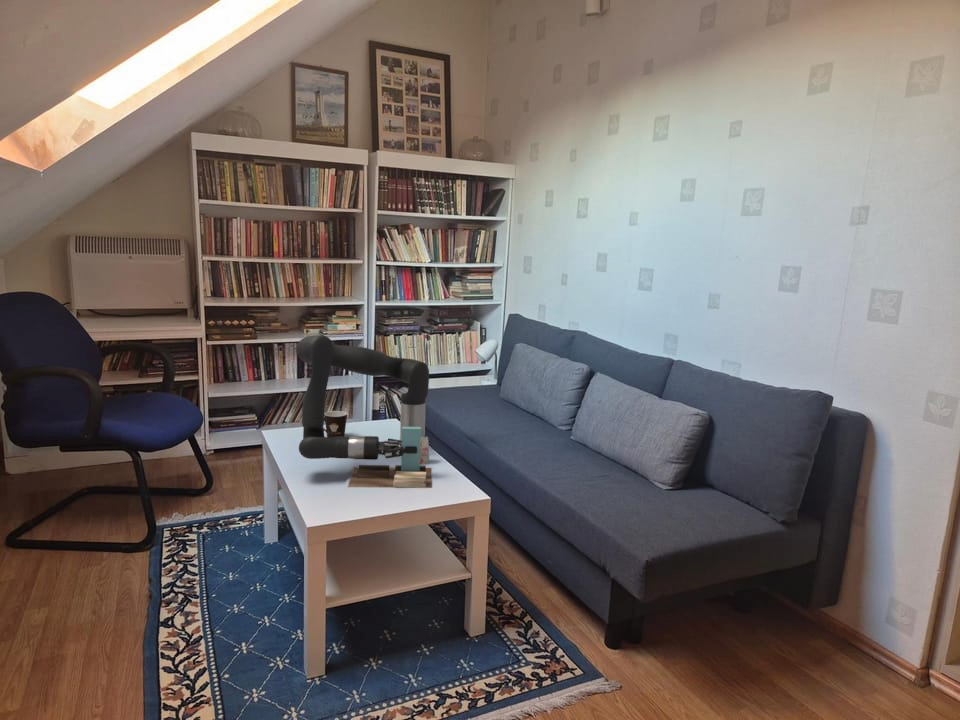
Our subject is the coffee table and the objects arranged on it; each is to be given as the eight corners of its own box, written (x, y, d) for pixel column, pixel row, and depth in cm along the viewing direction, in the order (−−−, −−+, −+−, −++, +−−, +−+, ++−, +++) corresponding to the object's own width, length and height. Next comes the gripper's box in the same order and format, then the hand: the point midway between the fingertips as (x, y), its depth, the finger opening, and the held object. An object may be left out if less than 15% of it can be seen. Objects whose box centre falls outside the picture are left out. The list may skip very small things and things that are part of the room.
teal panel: (401, 473, 208) (402, 426, 205) (419, 473, 209) (420, 426, 206) (400, 475, 206) (402, 428, 203) (419, 476, 206) (420, 429, 204)
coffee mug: (351, 437, 247) (351, 412, 246) (338, 443, 240) (338, 417, 238) (327, 432, 252) (327, 408, 250) (313, 438, 244) (313, 413, 242)
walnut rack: (354, 469, 213) (354, 461, 212) (431, 470, 215) (431, 462, 214) (347, 490, 195) (347, 480, 194) (431, 490, 197) (432, 481, 197)
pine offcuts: (394, 480, 202) (394, 471, 202) (426, 480, 203) (426, 471, 202) (393, 487, 196) (393, 478, 195) (426, 487, 197) (426, 478, 196)
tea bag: (406, 464, 220) (407, 437, 218) (425, 462, 223) (425, 435, 221) (410, 468, 216) (410, 440, 215) (428, 466, 219) (429, 438, 218)
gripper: (361, 443, 197) (417, 444, 198) (365, 430, 210) (417, 431, 212) (361, 466, 198) (416, 466, 200) (365, 451, 212) (417, 452, 213)
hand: (416, 448), depth 206 cm, fingers closed on teal panel, 2 cm apart
